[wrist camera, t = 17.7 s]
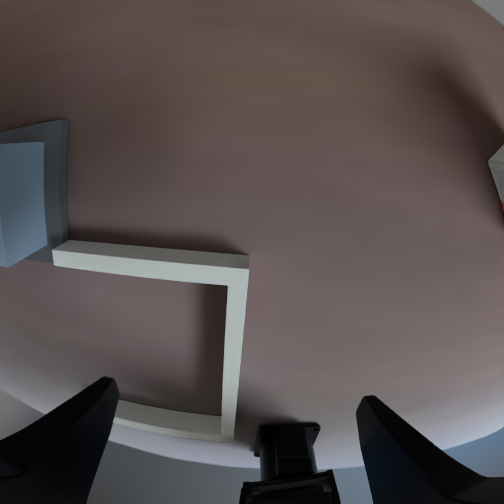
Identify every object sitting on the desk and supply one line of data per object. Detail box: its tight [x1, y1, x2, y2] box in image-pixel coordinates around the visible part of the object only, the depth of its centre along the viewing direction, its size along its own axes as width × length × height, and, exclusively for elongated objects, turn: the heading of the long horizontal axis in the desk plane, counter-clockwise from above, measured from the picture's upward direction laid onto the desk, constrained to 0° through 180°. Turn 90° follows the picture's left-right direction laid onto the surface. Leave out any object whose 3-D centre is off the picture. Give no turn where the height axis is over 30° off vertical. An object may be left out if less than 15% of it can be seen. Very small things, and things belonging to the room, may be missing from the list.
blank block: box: [0, 142, 48, 268], centre depth 15 cm, size 4×8×5 cm, turn 175°
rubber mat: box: [0, 119, 69, 263], centre depth 18 cm, size 11×8×1 cm
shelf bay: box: [52, 240, 249, 443], centre depth 21 cm, size 18×14×2 cm
